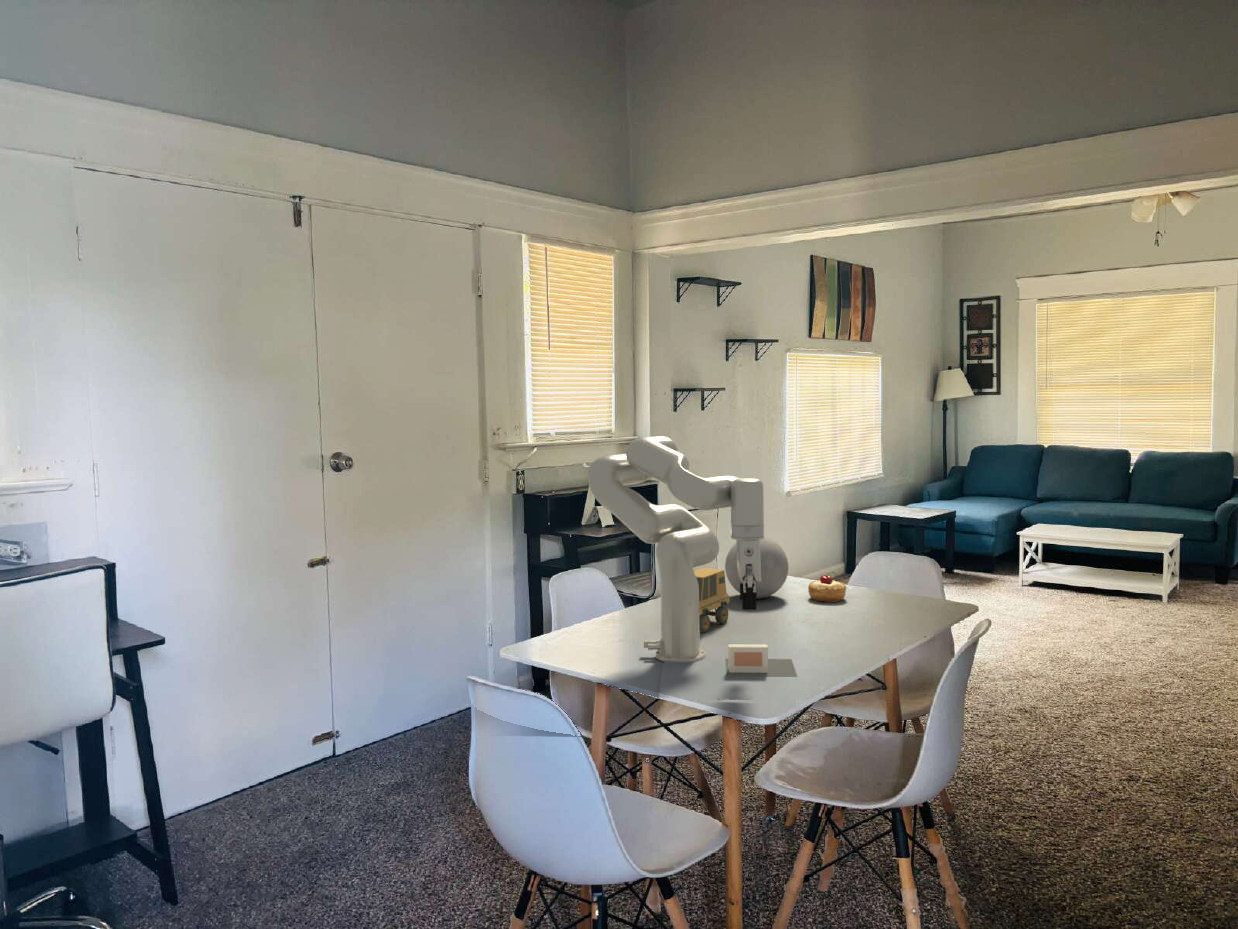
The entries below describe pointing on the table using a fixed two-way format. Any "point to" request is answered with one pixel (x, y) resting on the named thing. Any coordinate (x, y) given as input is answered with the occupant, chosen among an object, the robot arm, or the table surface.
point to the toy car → (711, 596)
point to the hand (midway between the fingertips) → (748, 604)
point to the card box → (748, 658)
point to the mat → (770, 669)
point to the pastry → (827, 589)
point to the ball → (771, 568)
